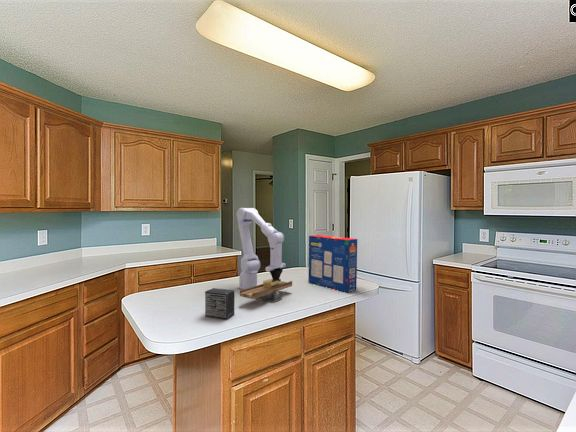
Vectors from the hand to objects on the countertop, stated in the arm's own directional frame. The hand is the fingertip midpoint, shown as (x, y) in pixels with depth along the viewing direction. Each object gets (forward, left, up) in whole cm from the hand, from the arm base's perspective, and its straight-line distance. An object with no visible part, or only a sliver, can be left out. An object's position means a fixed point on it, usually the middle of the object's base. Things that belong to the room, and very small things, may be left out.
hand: (275, 283), depth 152 cm
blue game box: (+15, +32, -6) cm, 36 cm away
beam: (0, -7, -2) cm, 7 cm away
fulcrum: (0, -7, -6) cm, 9 cm away
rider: (0, -4, -1) cm, 4 cm away
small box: (-2, -36, -6) cm, 36 cm away
